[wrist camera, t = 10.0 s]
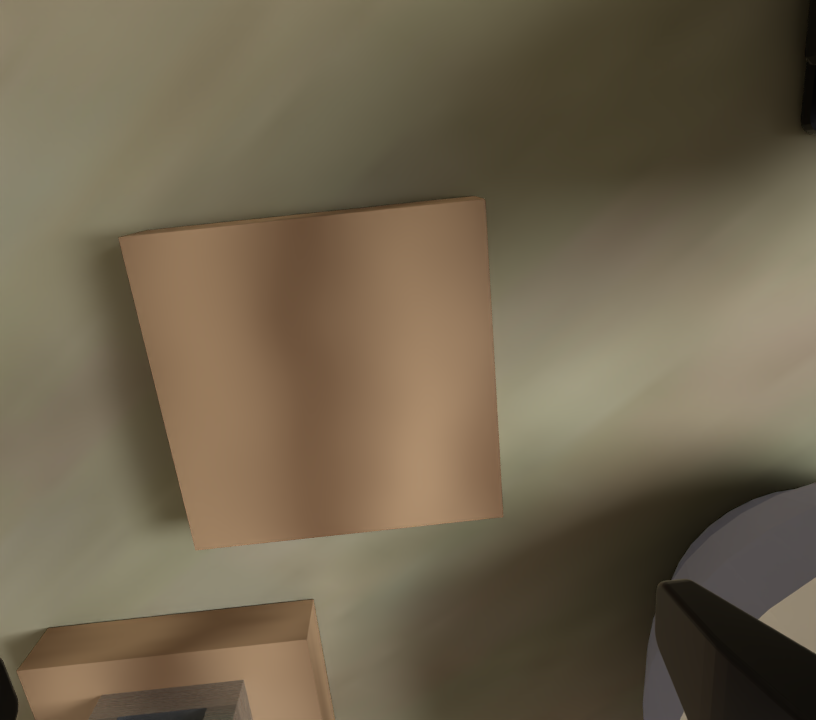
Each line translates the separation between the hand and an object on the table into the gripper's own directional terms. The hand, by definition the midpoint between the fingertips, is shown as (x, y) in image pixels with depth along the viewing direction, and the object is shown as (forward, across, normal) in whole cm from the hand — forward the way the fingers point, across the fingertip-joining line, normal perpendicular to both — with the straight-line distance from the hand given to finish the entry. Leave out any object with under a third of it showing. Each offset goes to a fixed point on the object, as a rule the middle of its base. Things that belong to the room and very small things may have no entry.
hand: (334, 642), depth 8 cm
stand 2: (+12, +8, +14) cm, 20 cm away
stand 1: (+12, +1, 0) cm, 12 cm away
